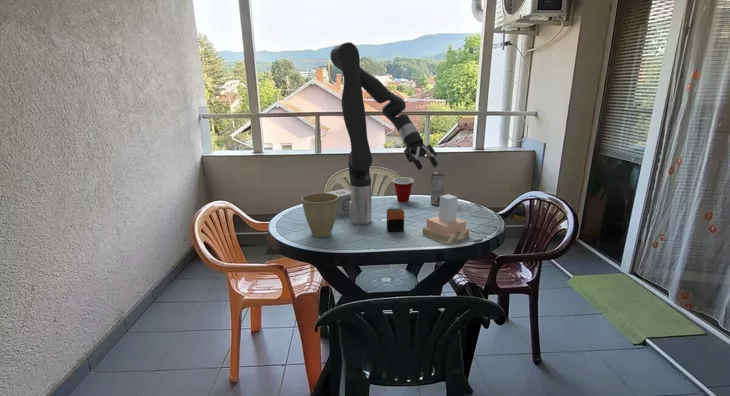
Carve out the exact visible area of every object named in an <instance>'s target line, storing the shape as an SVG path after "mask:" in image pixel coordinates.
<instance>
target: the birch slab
mask: <svg viewBox="0 0 730 396" xmlns="http://www.w3.org/2000/svg"><path fill="white" fill-rule="evenodd" d="M422 235H423V236H425V237H427V238H430V239H432V240H435V241H438V242H439V241H440V243H442V244H444V245H449V244H451V243H455V242H457V241H460V240H463V239H466V238H468V237H470V229H467V228H466V230H463V231H459V232H456V233H452V234H448V235H443V234H441V233H439V232H436V231H434V230H432V229H430V228H428V227H427V226H425V227H422Z"/></svg>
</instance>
